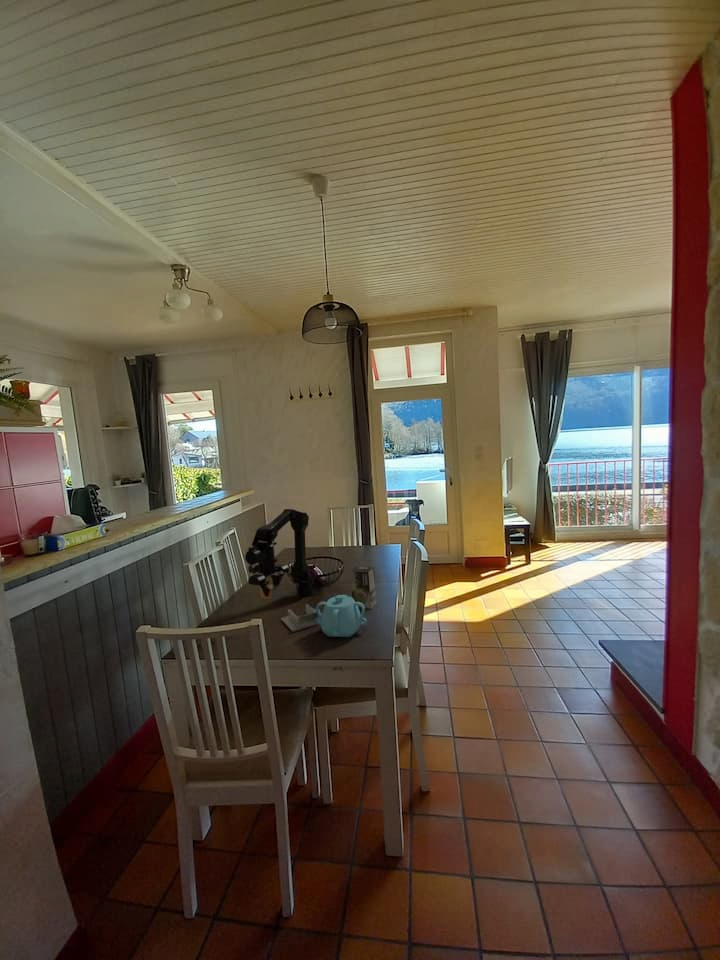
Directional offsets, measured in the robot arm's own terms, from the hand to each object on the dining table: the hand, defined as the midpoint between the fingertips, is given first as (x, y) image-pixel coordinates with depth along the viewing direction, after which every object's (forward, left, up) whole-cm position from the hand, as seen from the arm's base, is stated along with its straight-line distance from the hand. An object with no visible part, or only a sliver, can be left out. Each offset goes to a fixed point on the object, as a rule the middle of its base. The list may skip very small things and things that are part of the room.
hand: (271, 594), depth 162 cm
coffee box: (-36, +15, -10) cm, 40 cm away
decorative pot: (-17, +30, -10) cm, 36 cm away
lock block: (0, 0, -1) cm, 1 cm away
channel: (-9, +12, -10) cm, 18 cm away
